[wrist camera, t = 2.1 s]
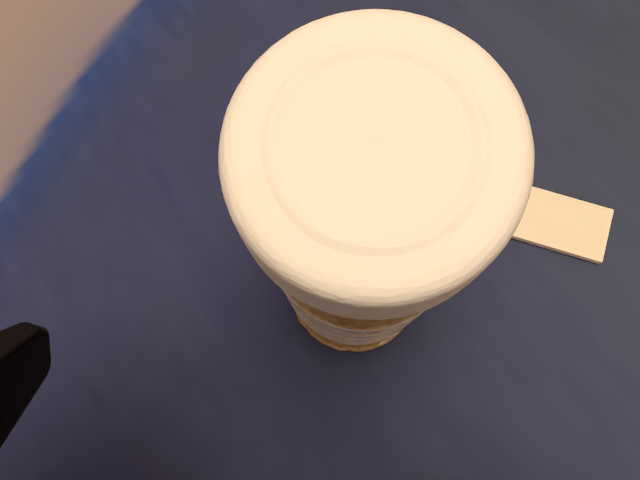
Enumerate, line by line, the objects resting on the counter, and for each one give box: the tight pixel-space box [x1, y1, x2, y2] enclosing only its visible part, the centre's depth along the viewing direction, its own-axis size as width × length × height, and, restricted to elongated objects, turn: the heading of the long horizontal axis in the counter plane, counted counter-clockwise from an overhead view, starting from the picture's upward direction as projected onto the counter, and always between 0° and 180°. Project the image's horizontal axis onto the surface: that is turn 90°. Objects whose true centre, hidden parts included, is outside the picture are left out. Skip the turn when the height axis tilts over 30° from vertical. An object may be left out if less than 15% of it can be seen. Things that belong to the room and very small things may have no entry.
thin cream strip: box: [511, 186, 614, 264], centre depth 22 cm, size 2×14×1 cm, turn 72°
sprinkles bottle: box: [218, 9, 535, 352], centre depth 15 cm, size 5×5×13 cm
